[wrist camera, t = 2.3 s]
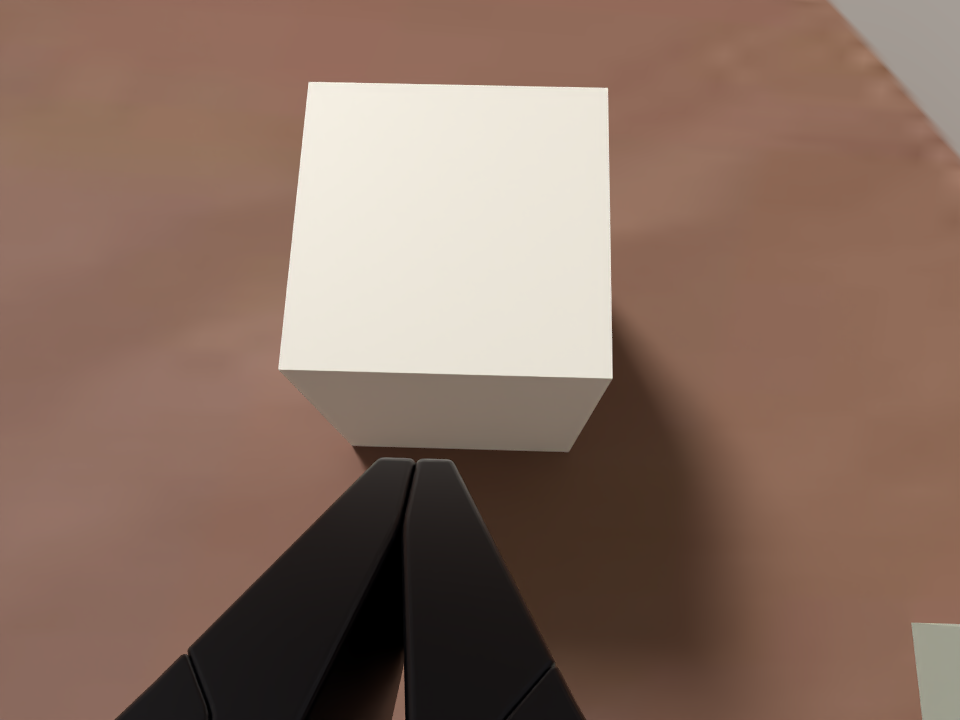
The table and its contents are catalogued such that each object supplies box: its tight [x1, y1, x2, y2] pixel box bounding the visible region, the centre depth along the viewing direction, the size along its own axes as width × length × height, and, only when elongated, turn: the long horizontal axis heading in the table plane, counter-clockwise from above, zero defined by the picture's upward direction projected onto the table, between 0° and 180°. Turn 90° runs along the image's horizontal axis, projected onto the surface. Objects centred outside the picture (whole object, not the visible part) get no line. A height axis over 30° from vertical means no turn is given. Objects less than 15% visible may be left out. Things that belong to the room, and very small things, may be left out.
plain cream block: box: [278, 82, 613, 452], centre depth 19 cm, size 6×6×8 cm
